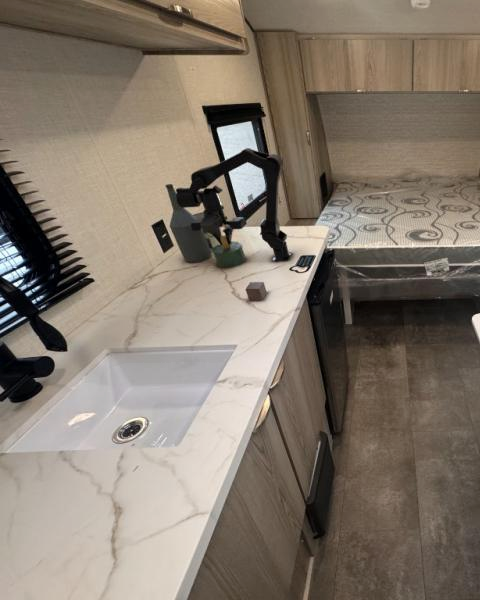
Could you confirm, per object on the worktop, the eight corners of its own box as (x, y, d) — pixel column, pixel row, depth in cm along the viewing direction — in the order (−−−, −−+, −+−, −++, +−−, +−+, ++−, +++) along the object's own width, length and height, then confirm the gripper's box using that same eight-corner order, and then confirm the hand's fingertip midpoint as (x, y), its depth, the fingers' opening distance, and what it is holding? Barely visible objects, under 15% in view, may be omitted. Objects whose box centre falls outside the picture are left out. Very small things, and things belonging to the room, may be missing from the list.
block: (253, 293, 111) (250, 282, 108) (267, 292, 111) (263, 281, 109) (249, 300, 107) (245, 289, 105) (262, 300, 107) (259, 288, 105)
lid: (220, 244, 134) (215, 231, 131) (247, 243, 134) (243, 230, 131) (207, 256, 125) (202, 242, 122) (236, 255, 125) (232, 241, 122)
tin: (224, 256, 137) (220, 243, 133) (249, 255, 137) (245, 242, 133) (213, 268, 128) (208, 254, 125) (240, 267, 128) (235, 253, 125)
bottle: (180, 263, 132) (146, 188, 115) (191, 253, 140) (161, 181, 124) (206, 262, 132) (176, 187, 116) (216, 252, 141) (189, 180, 124)
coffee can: (200, 252, 141) (188, 221, 133) (201, 244, 148) (189, 214, 141) (226, 247, 144) (215, 216, 136) (226, 239, 152) (215, 210, 144)
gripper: (175, 213, 113) (192, 254, 121) (228, 211, 113) (242, 252, 122) (191, 204, 122) (206, 242, 131) (241, 202, 122) (252, 240, 131)
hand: (226, 244), depth 128 cm, fingers closed on lid, 2 cm apart
